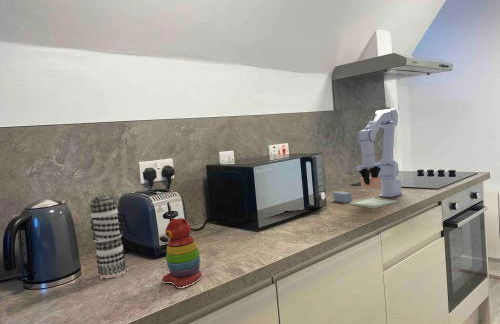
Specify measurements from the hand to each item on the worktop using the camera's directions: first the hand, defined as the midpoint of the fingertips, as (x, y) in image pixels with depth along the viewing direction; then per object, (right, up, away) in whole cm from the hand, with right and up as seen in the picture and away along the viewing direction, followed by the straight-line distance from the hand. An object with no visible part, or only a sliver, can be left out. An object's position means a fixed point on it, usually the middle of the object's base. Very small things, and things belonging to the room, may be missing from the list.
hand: (371, 183), depth 177 cm
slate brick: (-10, -10, +14) cm, 20 cm away
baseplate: (+1, -9, 0) cm, 9 cm away
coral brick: (0, -2, 0) cm, 2 cm away
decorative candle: (-100, -26, -58) cm, 119 cm away
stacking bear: (-76, -24, -71) cm, 106 cm away
